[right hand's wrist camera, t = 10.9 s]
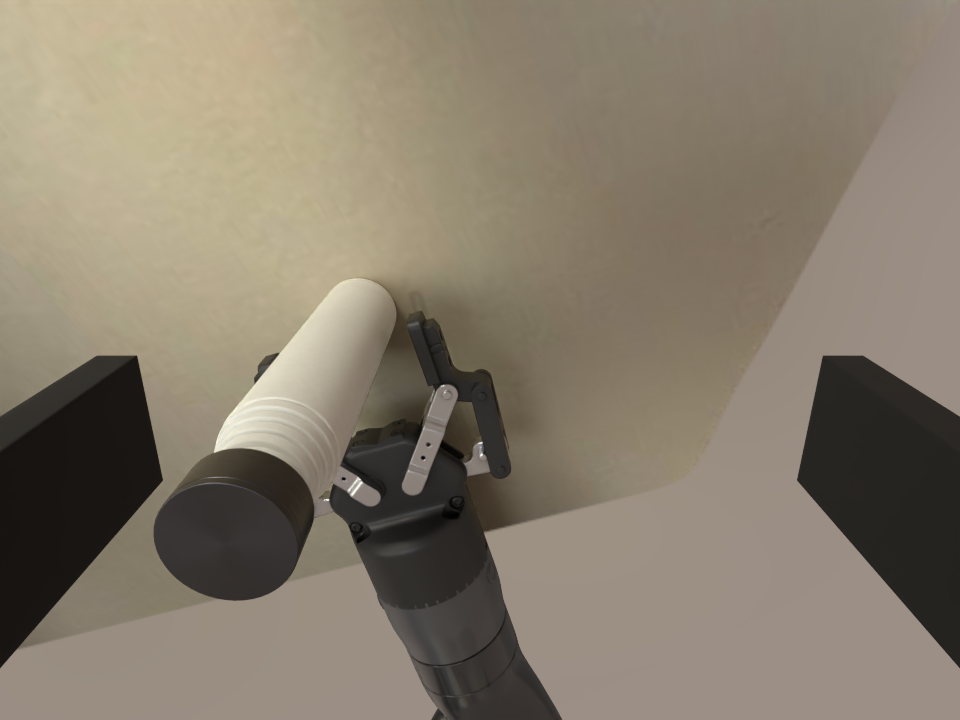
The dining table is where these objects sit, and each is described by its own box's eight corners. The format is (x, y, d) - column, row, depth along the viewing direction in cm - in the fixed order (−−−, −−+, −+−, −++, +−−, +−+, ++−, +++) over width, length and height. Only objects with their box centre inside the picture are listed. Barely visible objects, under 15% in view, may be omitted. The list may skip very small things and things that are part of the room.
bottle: (332, 350, 41) (178, 601, 20) (318, 282, 40) (134, 478, 19) (401, 342, 41) (320, 589, 20) (390, 274, 40) (288, 463, 18)
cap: (203, 563, 22) (176, 607, 20) (166, 454, 20) (133, 490, 18) (326, 551, 22) (311, 594, 20) (299, 441, 20) (280, 476, 18)
